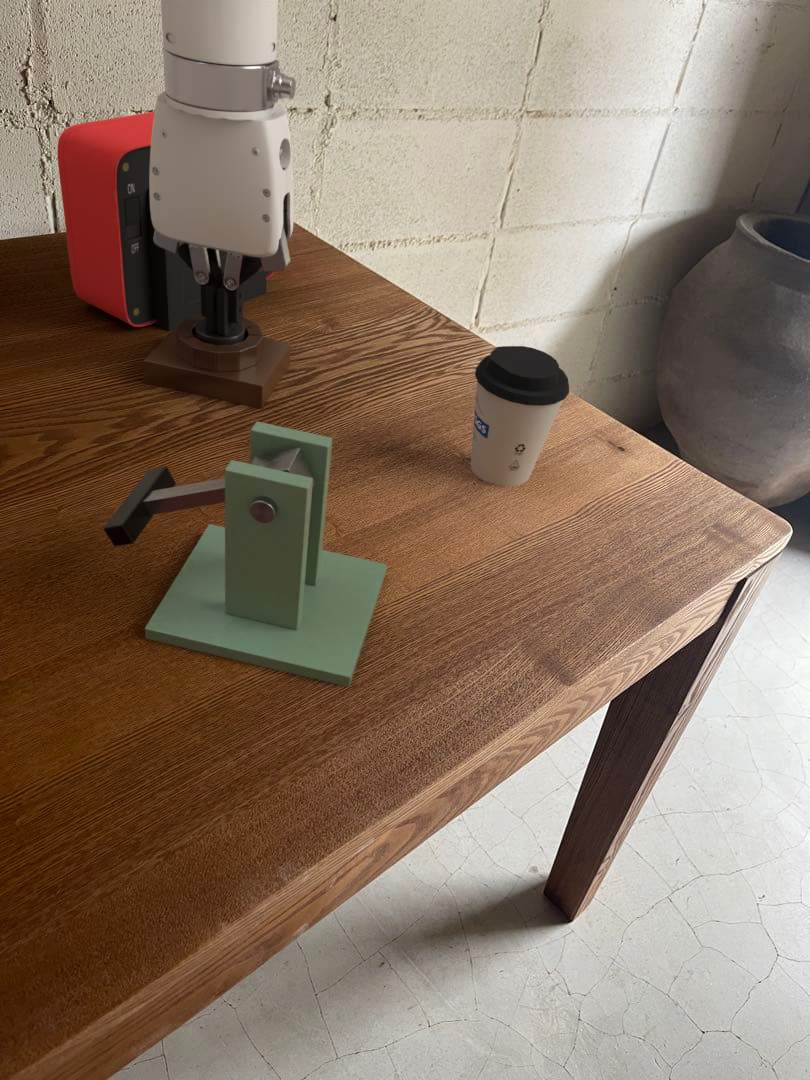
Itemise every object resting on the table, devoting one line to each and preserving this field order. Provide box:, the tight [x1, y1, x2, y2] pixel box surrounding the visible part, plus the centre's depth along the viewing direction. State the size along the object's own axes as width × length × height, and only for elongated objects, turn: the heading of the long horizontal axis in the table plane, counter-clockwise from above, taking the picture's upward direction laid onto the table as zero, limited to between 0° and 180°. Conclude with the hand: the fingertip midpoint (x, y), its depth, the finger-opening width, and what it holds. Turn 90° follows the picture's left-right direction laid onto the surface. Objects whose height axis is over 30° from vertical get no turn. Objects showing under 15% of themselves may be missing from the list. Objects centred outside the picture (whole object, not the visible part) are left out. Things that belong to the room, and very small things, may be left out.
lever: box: [103, 448, 315, 547], centre depth 48 cm, size 11×6×2 cm, turn 79°
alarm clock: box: [56, 111, 275, 332], centre depth 79 cm, size 10×20×16 cm, turn 145°
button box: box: [143, 314, 292, 410], centre depth 73 cm, size 10×8×4 cm
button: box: [195, 318, 245, 346], centre depth 72 cm, size 4×4×2 cm
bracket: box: [144, 421, 388, 688], centre depth 49 cm, size 12×10×12 cm
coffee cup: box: [470, 345, 570, 488], centre depth 64 cm, size 7×7×10 cm
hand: (222, 326), depth 71 cm, fingers closed
